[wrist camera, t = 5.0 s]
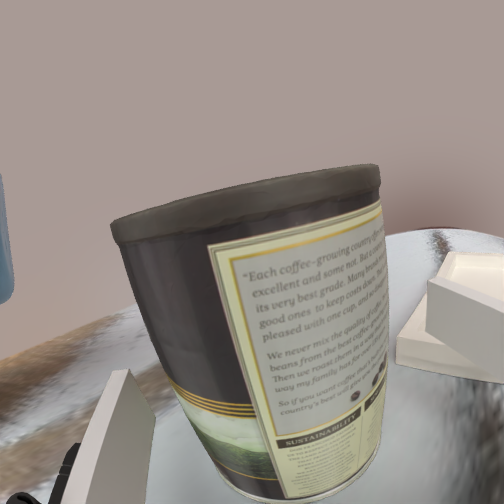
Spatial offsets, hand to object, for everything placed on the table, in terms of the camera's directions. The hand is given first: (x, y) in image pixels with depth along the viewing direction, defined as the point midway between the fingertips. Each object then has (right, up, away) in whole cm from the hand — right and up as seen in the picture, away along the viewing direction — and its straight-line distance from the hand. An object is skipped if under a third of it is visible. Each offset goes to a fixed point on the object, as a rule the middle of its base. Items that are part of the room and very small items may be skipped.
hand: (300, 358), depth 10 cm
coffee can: (+1, -7, +3) cm, 8 cm away
